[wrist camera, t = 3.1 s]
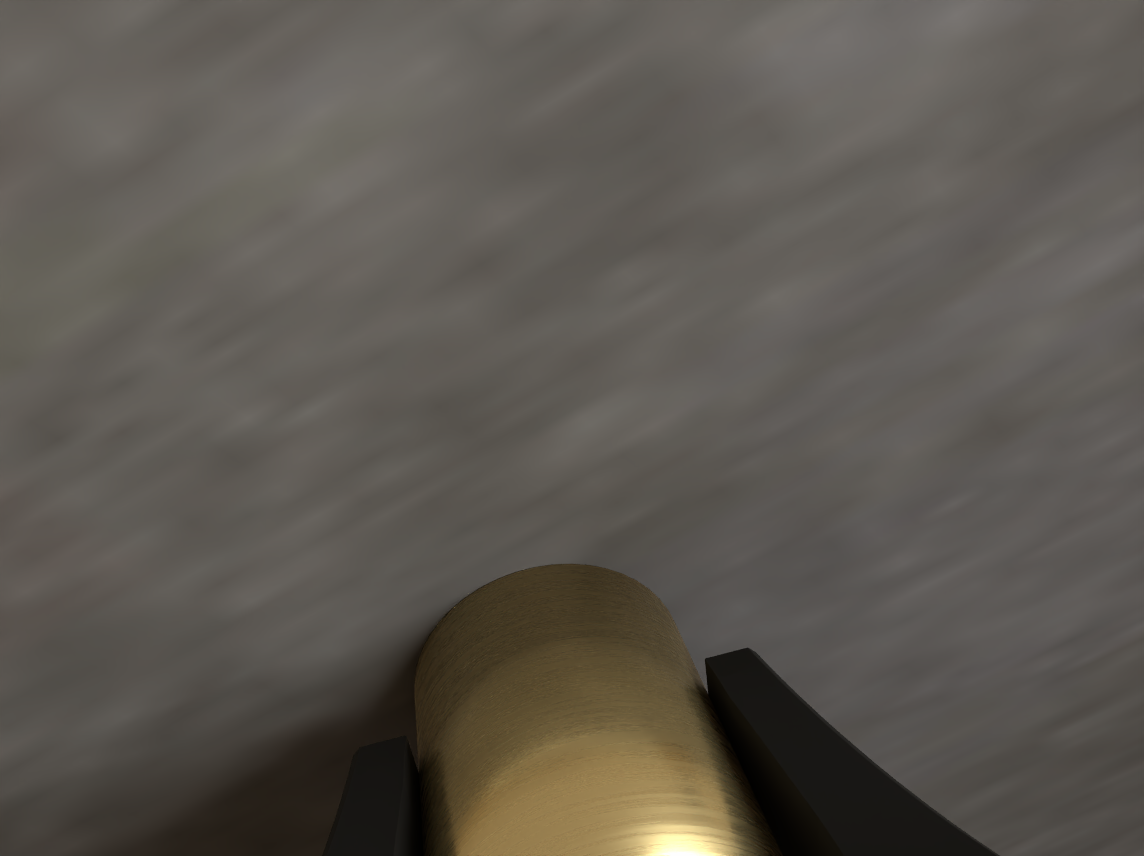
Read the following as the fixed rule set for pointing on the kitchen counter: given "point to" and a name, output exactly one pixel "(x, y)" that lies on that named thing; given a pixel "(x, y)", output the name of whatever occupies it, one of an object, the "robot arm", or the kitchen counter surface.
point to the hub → (574, 728)
